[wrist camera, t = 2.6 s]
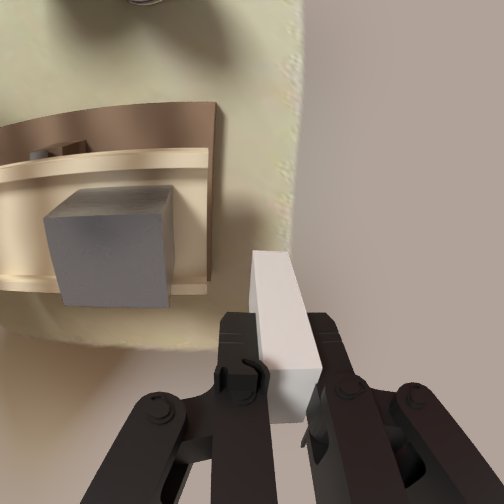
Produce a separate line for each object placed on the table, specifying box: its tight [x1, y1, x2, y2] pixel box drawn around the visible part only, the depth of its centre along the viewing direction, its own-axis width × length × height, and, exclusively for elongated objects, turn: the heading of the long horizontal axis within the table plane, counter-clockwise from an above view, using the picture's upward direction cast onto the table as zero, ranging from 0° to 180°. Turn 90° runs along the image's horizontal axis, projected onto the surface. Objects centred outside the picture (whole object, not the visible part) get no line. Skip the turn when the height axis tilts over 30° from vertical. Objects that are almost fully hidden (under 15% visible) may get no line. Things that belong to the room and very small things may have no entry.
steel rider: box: [43, 185, 175, 308], centre depth 15 cm, size 6×5×5 cm
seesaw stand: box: [0, 102, 216, 281], centre depth 21 cm, size 24×15×5 cm, turn 86°
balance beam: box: [0, 148, 209, 295], centre depth 16 cm, size 24×10×4 cm, turn 87°
